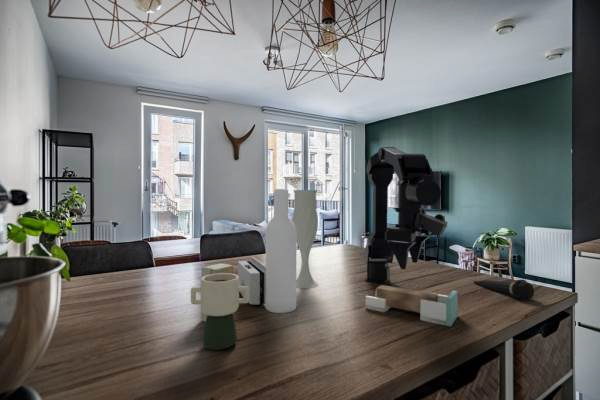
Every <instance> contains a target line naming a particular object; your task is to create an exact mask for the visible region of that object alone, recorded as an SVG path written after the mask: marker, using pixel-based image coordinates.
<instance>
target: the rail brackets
mask: <svg viewBox="0 0 600 400" xmlns="http://www.w3.org/2000/svg"><path fill="white" fill-rule="evenodd" d="M432 293H433V292H432ZM458 293H459V291H458V290H452V291H451V292H450V293H449V294H448V295H446V294H439V293H437V294H438V302H434V301H428V300H421V305H420V312H419V313H420V318H419V319H420V321H424V322H427V323H433V324H436V325H437V324H438V325H442V326H446V327H452V326H453V324H454V322H455V321H456V319H457V318H458V302H459V301H458V297H459V295H458ZM433 294H435V293H433ZM364 305H365V309H367V310H371V311H375V312H381V313H386V312H387V311H389V310H390V309H391V308H392V307H390V306H386V299H383V298H377V297H376V296H370V295H366V296H365V304H364Z"/></svg>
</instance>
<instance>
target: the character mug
mask: <svg viewBox="0 0 600 400" xmlns="http://www.w3.org/2000/svg"><path fill="white" fill-rule="evenodd" d="M240 291H244V298H243V297H242V298H240ZM197 293H200V298H197ZM190 302H191V304H192V305H200V311H201V310H202V313H204V314H206V315H208V316H207V318H206V322H204V323H205V324H204V331H203V341H202V342H203V343H202V344H203V346H205V347H206V348H207V349H210V350H213V351H215V350H217V351H218V350H219V351H220V350H224V349H227V348H230V347H231V346H233V345H235V344H236V343H237V341H238V337H237V336H238V335H237V329H236V320H235V315H234V314H232V313H235V312H237V310H238V309H239V307H240V304H249V303H248V302H249V287H247V286H239V277H238V274H236V273H233V274H230V273H218V274H210V275H206V276H204V277H202V276H201V278H200V286H193V287H191V289H190Z"/></svg>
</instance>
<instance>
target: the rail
mask: <svg viewBox="0 0 600 400" xmlns="http://www.w3.org/2000/svg"><path fill="white" fill-rule="evenodd" d="M438 294H439V293H434V294H433V292H427V291H426V292H425V291H420V290H416V289H415V290H413V289H408V288H402V287H395V286H389V285H383V284H381V285H379V286H378V287H376V289H375V297H377V298H383V299H386V306H390V307H391V308H395V309H401V310H405V311H411V312H416V313H420V305H421V300H428V301H434V302H438Z"/></svg>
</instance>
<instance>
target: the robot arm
mask: <svg viewBox="0 0 600 400" xmlns="http://www.w3.org/2000/svg"><path fill="white" fill-rule="evenodd" d="M365 170H366V175H367V179H368V181H369V184H370V185H371V187H372V231H371V233H370V234H369V236H368V237H367V243H366V245H365V248H364V251H363V254H362V255H363V258H362V259H363V262H365V263H366V278H365V279H364V281H365V282H371V283H377V284H385V283H387V282H389V281H391V278H390V277H391V275H390V274H391V272H390V270H391V269H390V266H389V264H393V261H394V257H395V259H396V261H397V263H398V265H399V268H400V269H401V270H407V269H406V268H407V265H408V259H409V256H410V258H411V262H412V263H416V264H417V263H418V260H419V259H420V258H419V257H420V255H421V251H422V247H423V245H424V244H423V243H424V242H426V240H428V239H429V238H430V237H431V235H432V234H433V235H434V236H436V237H441V236H442V235H444V233H445V230H446V228H447V227H448V221H446V217H445V215H443V214H441V213H438V214H436V215H435V216H433V215H430V214H427V212H426V211H427V210H426V209H425V207H423V206H427V207H428V206H433V205H435V204H436V203H438V201H439V200H440V198H441V195H442V190H441V188H440V186H439V184H438V183H437V182H436V181H434V180H435V179H434V171H433V169H432V167H431V164H430V162H429V159H428V158H427V156H426V155H425V154H424V153H407V152H405V151H403V150H400V149H398V148H397V147H395V146H382V147H379V148H378V151H377V152H376V153H374V154H373V155H371V156H370V157H369V159H368V162H367V164H366V169H365ZM394 174H396V176H397V178H398V182H397V186H398V197H397V198H398V203H397V204H398V205H397V207H395V212H396V213H398V215H397V218H398V219H397V223H396V224H395V227H394V226H393V227H389V228H388V194H389V193H388V189H389V186H390V184H391V183H392V181H393V180H394Z"/></svg>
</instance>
